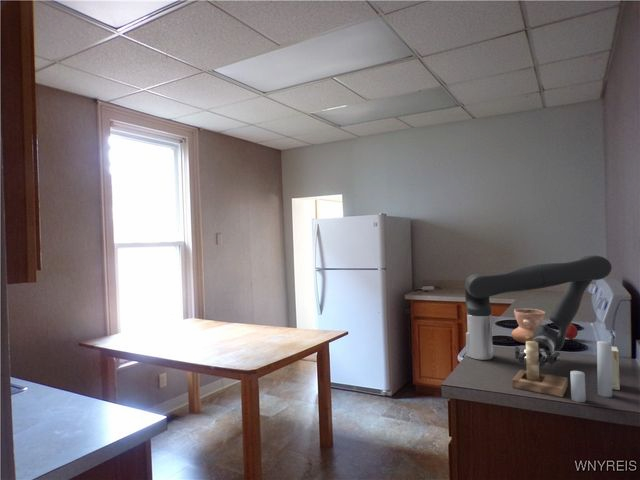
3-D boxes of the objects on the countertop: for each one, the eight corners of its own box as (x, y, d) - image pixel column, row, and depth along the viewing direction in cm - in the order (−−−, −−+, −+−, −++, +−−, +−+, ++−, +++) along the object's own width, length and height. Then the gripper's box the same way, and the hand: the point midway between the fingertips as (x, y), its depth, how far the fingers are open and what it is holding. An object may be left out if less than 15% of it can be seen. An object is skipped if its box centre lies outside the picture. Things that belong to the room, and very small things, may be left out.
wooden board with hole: (512, 387, 130) (512, 379, 130) (520, 376, 139) (520, 369, 139) (562, 397, 121) (562, 388, 121) (567, 385, 130) (567, 377, 130)
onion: (580, 341, 177) (579, 323, 177) (565, 341, 178) (565, 323, 178) (574, 338, 183) (574, 320, 183) (560, 338, 184) (560, 320, 184)
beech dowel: (525, 385, 131) (524, 343, 131) (528, 382, 134) (527, 340, 134) (538, 387, 129) (536, 344, 129) (540, 384, 132) (539, 341, 132)
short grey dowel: (570, 400, 119) (569, 373, 119) (572, 395, 122) (571, 369, 122) (584, 403, 117) (583, 376, 117) (586, 398, 120) (585, 372, 119)
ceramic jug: (545, 349, 168) (544, 315, 168) (507, 344, 177) (507, 312, 177) (551, 340, 182) (551, 308, 182) (516, 335, 191) (516, 305, 191)
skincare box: (620, 390, 124) (619, 351, 124) (603, 388, 127) (602, 349, 127) (618, 383, 130) (617, 346, 130) (601, 381, 132) (600, 344, 132)
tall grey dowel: (597, 395, 122) (596, 343, 121) (598, 391, 124) (597, 340, 124) (611, 398, 119) (611, 344, 119) (612, 394, 122) (611, 341, 122)
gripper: (518, 335, 147) (506, 346, 133) (564, 340, 138) (556, 353, 125) (519, 355, 147) (507, 369, 134) (564, 362, 138) (556, 377, 125)
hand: (530, 361), depth 129 cm, fingers open, 5 cm apart
